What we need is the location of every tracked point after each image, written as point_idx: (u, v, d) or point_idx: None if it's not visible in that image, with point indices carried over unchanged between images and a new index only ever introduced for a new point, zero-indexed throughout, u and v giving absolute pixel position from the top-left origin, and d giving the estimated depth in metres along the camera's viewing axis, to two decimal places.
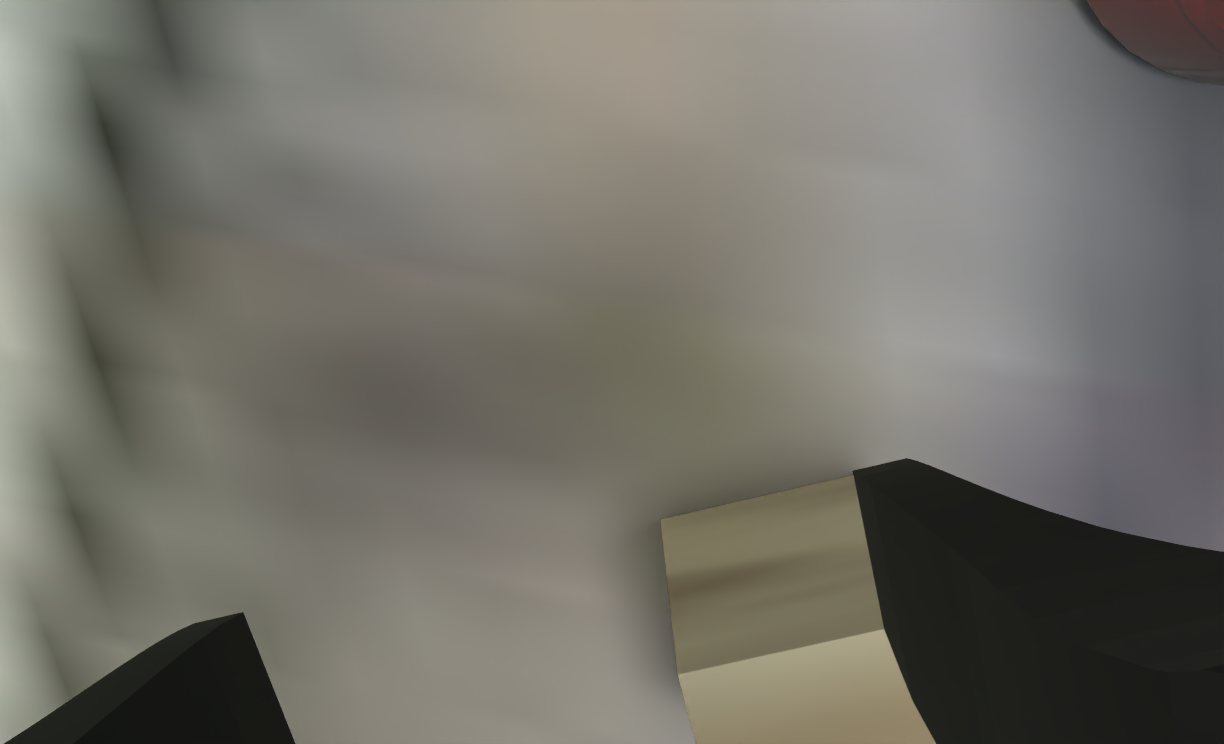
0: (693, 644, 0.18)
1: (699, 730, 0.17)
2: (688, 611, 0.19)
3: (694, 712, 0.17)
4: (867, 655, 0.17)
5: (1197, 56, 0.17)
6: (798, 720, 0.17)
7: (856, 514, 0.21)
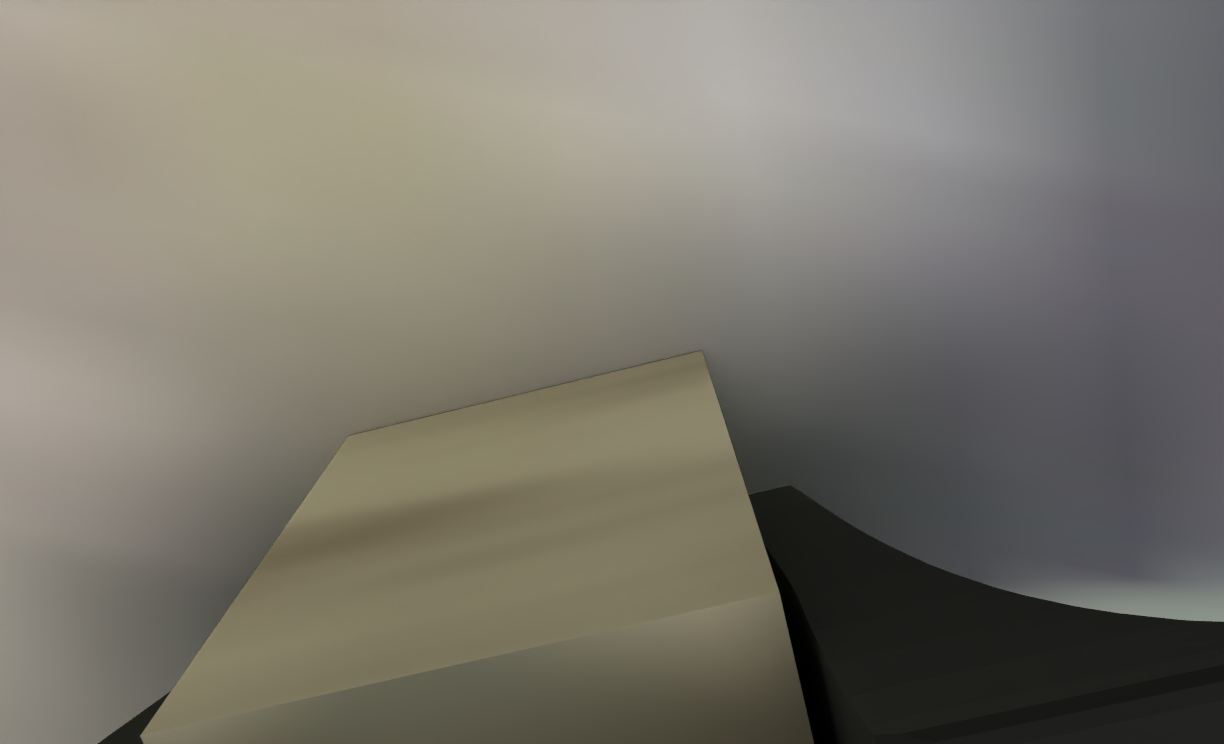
0: (224, 663, 0.08)
1: None
2: (269, 592, 0.09)
3: None
4: (579, 692, 0.07)
5: None
6: None
7: (659, 412, 0.11)
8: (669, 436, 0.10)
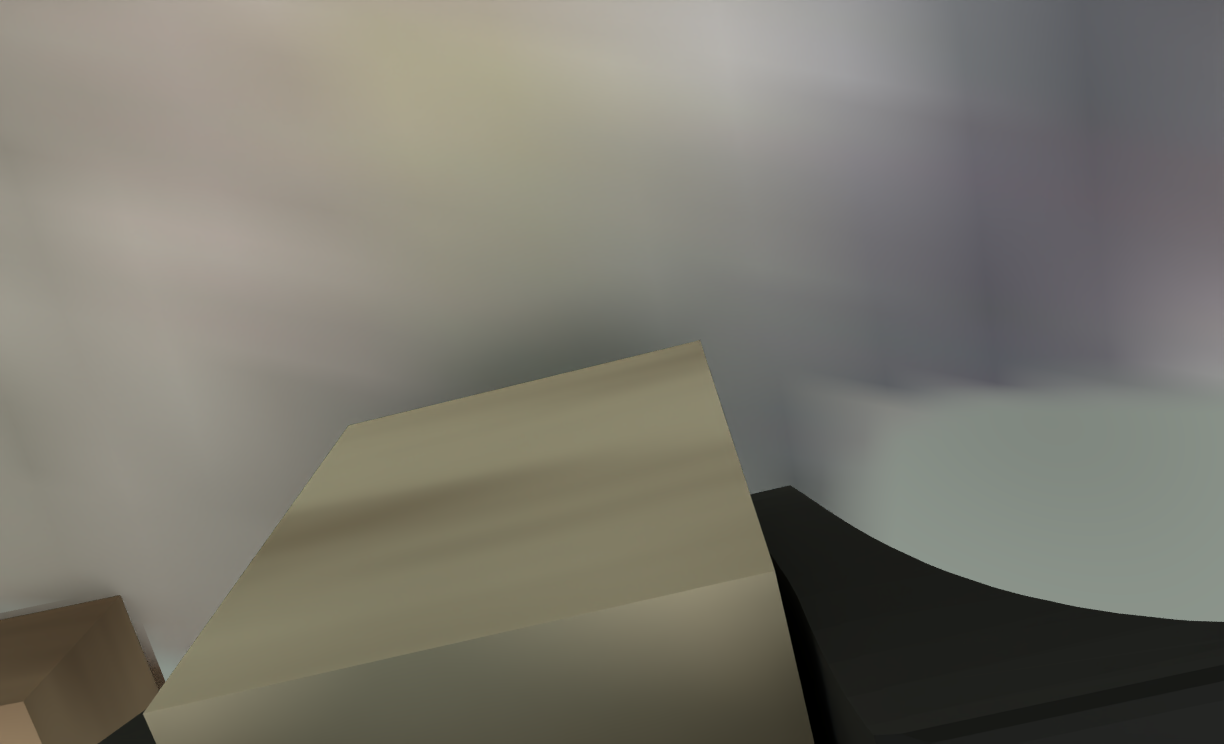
0: (226, 644, 0.08)
1: None
2: (270, 575, 0.09)
3: None
4: (577, 669, 0.07)
5: None
6: None
7: (657, 400, 0.11)
8: (667, 423, 0.10)
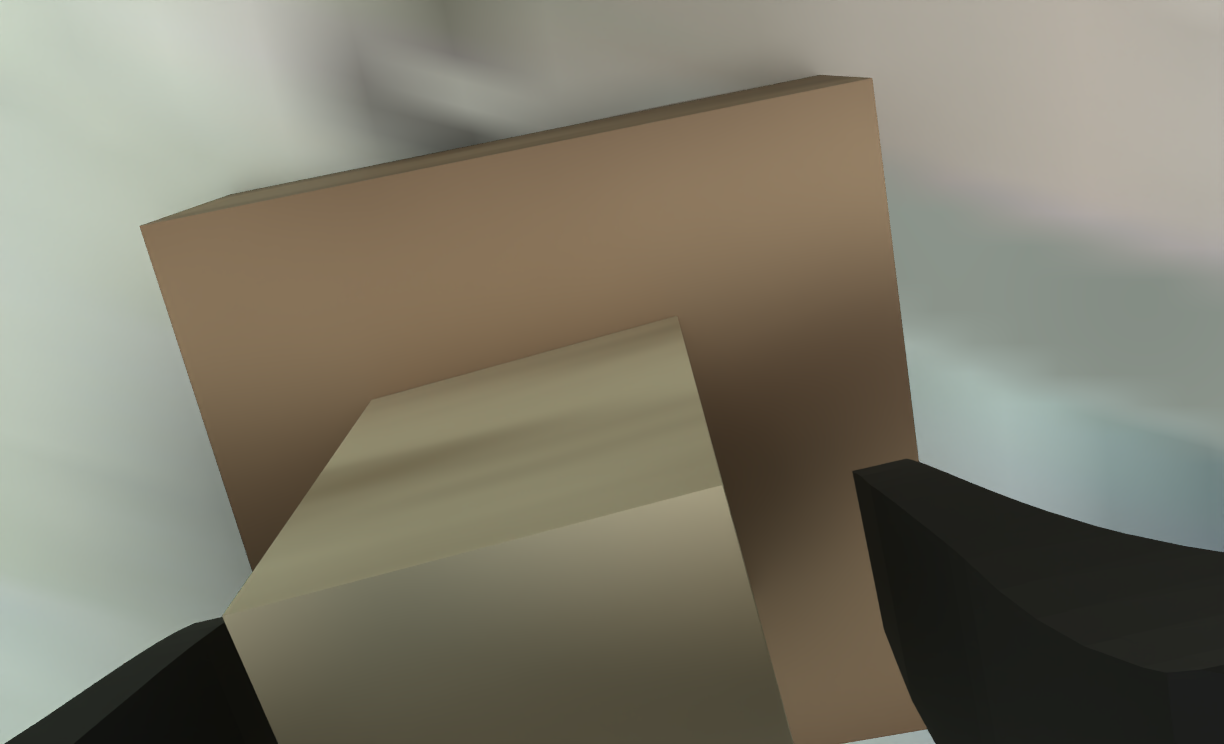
0: (283, 565, 0.10)
1: (278, 718, 0.09)
2: (314, 515, 0.11)
3: (263, 685, 0.09)
4: (567, 570, 0.09)
5: None
6: (457, 693, 0.09)
7: (637, 365, 0.13)
8: (645, 384, 0.12)
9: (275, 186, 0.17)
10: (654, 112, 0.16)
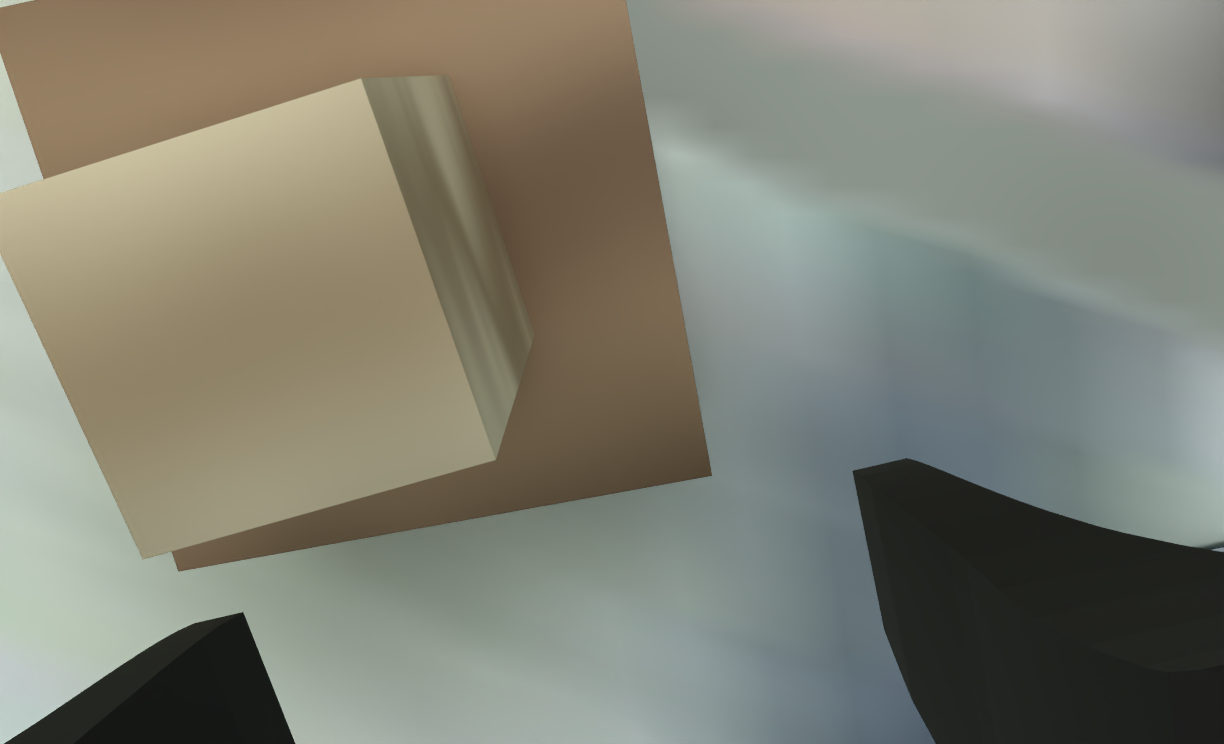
0: None
1: (27, 291, 0.12)
2: None
3: (12, 261, 0.12)
4: (247, 156, 0.11)
5: None
6: (169, 269, 0.12)
7: None
8: None
9: None
10: None
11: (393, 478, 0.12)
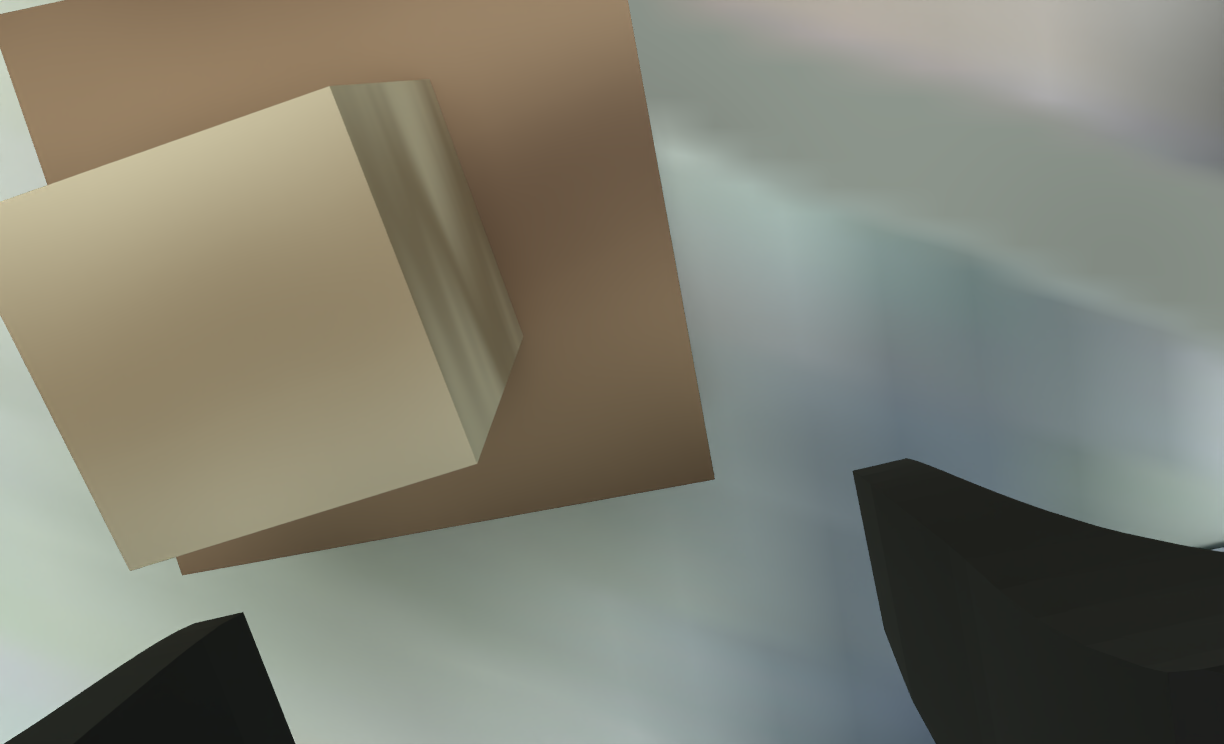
0: None
1: (5, 307, 0.12)
2: None
3: None
4: (219, 168, 0.11)
5: None
6: (145, 281, 0.12)
7: None
8: None
9: None
10: None
11: (375, 485, 0.12)
